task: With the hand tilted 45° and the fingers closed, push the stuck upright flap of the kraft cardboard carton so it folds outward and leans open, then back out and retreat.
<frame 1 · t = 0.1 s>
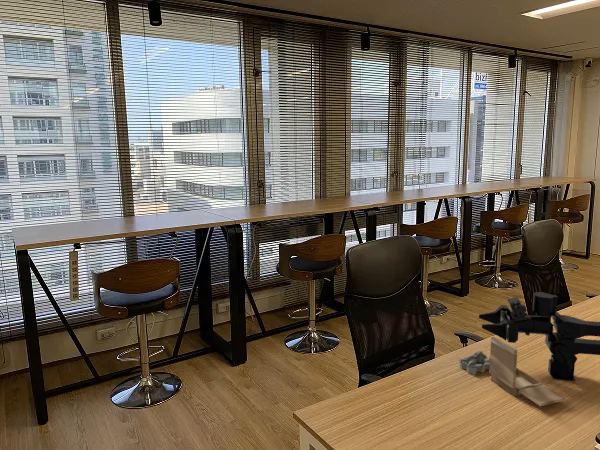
hand: (480, 321, 158), 17 cm above the table, tool horizontal, fingers open, 9 cm apart
egg carton: (476, 369, 161), on the table
flap: (502, 361, 146), point 9 cm above the table, hinge at 0.0°
carton: (516, 385, 149), on the table
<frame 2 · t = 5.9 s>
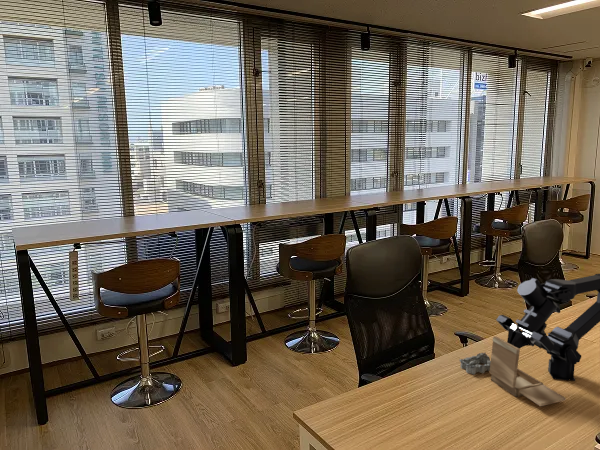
hand: (506, 353, 146), 11 cm above the table, tool tilted 45°, fingers closed, pressing on flap
flap: (503, 361, 146), point 9 cm above the table, hinge at -4.1°, touching gripper
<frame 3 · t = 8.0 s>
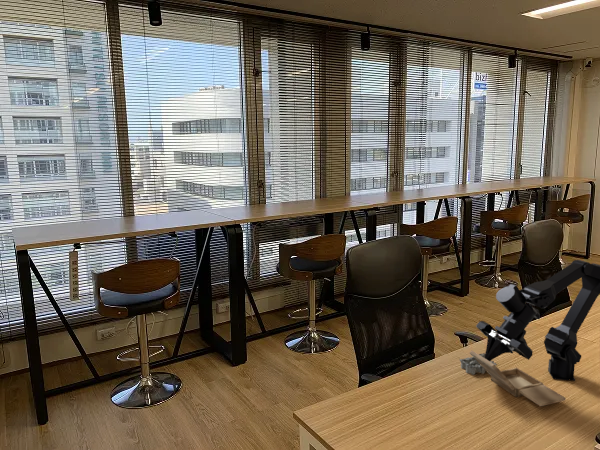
hand: (485, 361, 144), 10 cm above the table, tool tilted 45°, fingers closed, pressing on flap
flap: (491, 370, 145), point 7 cm above the table, hinge at 42.5°, touching gripper
everything else where it was.
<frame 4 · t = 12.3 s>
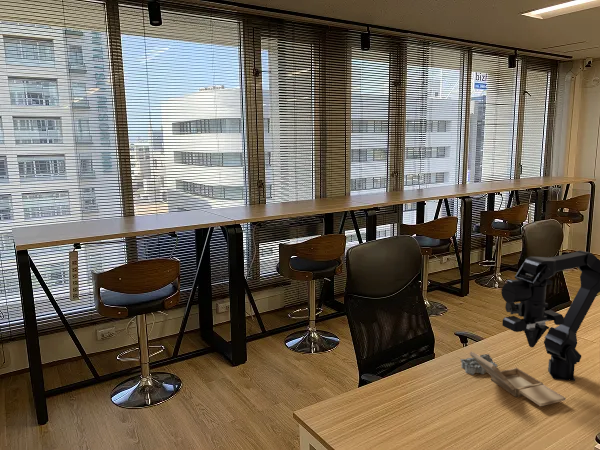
hand: (531, 346, 149), 12 cm above the table, tool pointing down, fingers closed
flap: (491, 370, 145), point 7 cm above the table, hinge at 43.7°
at the end: flap at +44° (first picture: +0°); egg carton moved 1.4 cm from its start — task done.
